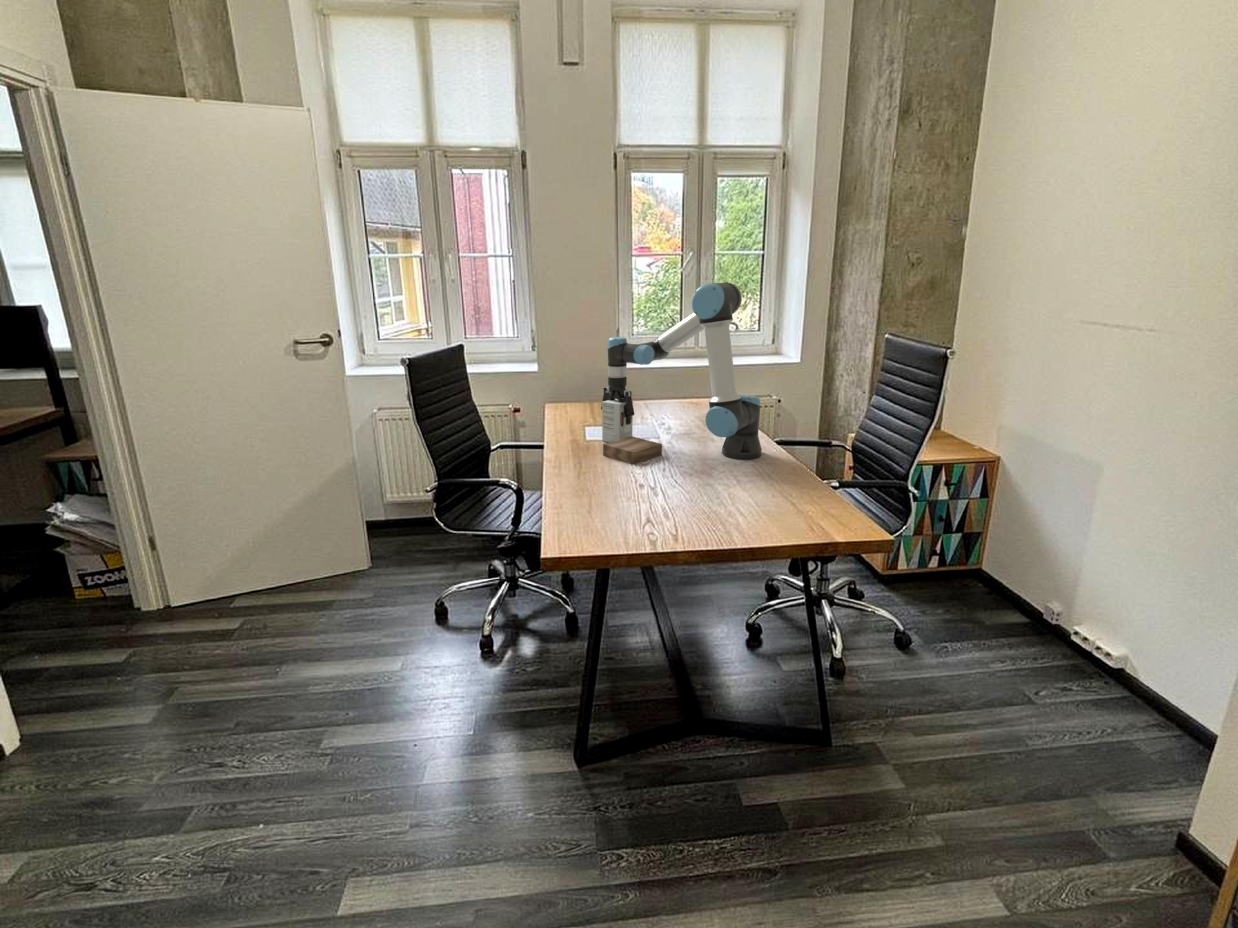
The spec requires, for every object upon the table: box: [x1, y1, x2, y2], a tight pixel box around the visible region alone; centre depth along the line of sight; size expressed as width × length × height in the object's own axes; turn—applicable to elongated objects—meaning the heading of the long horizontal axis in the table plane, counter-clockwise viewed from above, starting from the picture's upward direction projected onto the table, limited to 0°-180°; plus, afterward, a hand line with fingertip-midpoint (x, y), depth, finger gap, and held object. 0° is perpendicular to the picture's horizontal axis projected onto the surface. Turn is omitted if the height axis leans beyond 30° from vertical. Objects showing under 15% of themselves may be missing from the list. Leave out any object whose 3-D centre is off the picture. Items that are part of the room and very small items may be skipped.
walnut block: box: [602, 435, 663, 465], centre depth 247 cm, size 16×16×5 cm
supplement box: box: [601, 399, 634, 443], centre depth 266 cm, size 10×9×17 cm
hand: (617, 429), depth 267 cm, fingers closed on supplement box, 10 cm apart
